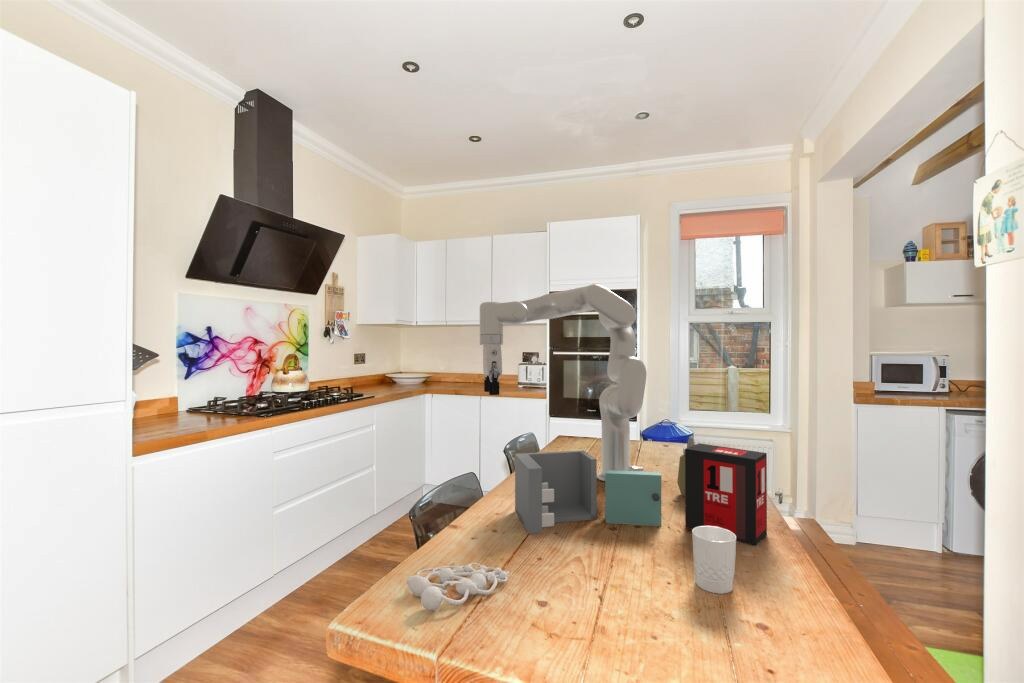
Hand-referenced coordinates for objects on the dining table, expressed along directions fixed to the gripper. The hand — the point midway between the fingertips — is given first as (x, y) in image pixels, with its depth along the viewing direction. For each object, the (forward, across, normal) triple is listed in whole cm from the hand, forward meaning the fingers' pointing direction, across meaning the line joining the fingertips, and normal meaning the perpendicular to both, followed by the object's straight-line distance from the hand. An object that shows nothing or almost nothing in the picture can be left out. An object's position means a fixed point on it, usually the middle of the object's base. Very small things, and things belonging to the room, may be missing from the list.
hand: (491, 393), depth 153 cm
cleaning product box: (+31, -47, -51) cm, 76 cm away
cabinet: (+31, -30, -13) cm, 45 cm away
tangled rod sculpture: (+31, -60, +17) cm, 70 cm away
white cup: (+31, -70, -32) cm, 83 cm away
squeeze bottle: (+31, -21, -58) cm, 69 cm away
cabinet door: (+31, -37, -31) cm, 57 cm away
